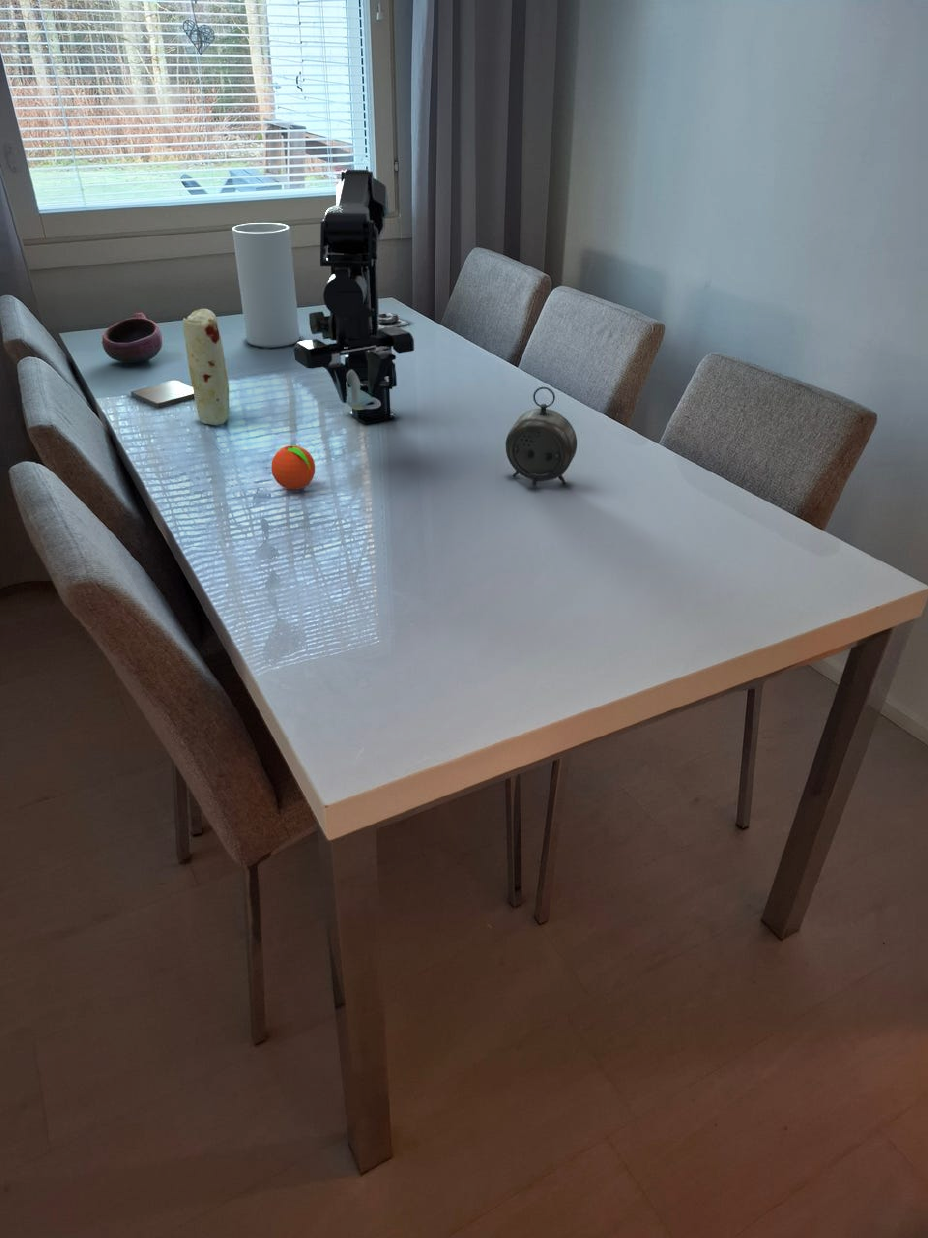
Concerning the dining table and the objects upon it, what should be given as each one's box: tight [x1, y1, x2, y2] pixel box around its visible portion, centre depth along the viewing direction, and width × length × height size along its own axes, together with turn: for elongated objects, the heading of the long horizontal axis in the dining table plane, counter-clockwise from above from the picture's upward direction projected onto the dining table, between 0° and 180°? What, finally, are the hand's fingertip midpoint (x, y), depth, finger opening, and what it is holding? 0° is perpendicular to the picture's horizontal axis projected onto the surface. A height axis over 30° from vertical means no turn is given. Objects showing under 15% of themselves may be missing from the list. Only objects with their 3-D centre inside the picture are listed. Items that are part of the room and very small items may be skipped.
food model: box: [182, 308, 231, 426], centre depth 159 cm, size 10×7×20 cm
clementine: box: [270, 444, 316, 491], centre depth 137 cm, size 8×7×7 cm
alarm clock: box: [505, 385, 578, 490], centre depth 137 cm, size 11×5×16 cm, turn 71°
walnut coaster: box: [130, 379, 195, 409], centre depth 175 cm, size 10×10×1 cm
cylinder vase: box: [231, 222, 301, 349], centre depth 200 cm, size 12×12×25 cm
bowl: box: [101, 312, 164, 364], centre depth 193 cm, size 16×13×8 cm
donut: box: [379, 312, 409, 329], centre depth 220 cm, size 8×8×2 cm
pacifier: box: [338, 370, 381, 410], centre depth 141 cm, size 7×6×6 cm
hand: (358, 399), depth 142 cm, fingers closed on pacifier, 5 cm apart
